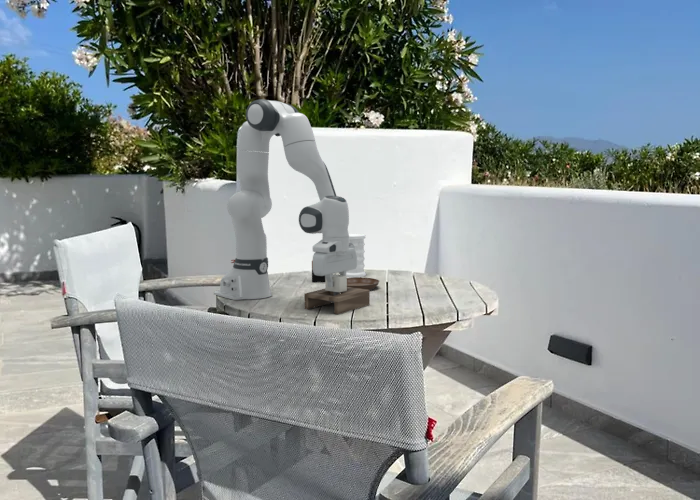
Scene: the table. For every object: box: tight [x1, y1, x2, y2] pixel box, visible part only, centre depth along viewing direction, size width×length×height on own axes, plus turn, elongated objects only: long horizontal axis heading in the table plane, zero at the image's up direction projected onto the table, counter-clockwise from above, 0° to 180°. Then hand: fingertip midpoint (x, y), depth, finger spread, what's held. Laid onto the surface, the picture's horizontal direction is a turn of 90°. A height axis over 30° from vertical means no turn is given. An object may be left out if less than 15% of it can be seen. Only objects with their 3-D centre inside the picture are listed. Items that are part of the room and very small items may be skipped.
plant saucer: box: [347, 277, 380, 291], centre depth 243 cm, size 18×18×3 cm
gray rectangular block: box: [324, 273, 348, 303], centre depth 207 cm, size 6×4×8 cm
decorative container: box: [346, 233, 367, 278], centre depth 273 cm, size 12×12×18 cm
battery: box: [311, 259, 325, 283], centre depth 257 cm, size 4×7×10 cm, turn 90°
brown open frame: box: [303, 287, 371, 315], centre depth 208 cm, size 14×18×5 cm
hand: (335, 285), depth 206 cm, fingers closed on gray rectangular block, 4 cm apart
